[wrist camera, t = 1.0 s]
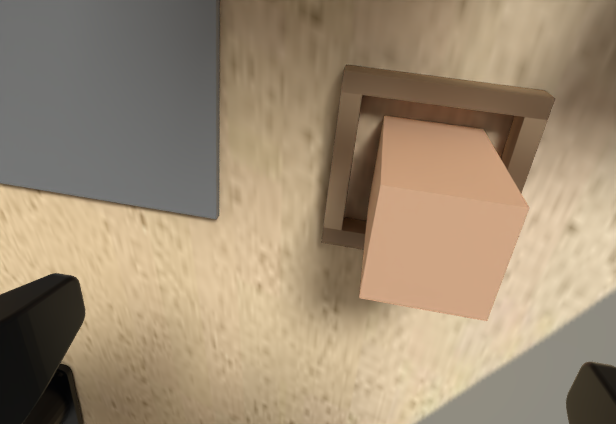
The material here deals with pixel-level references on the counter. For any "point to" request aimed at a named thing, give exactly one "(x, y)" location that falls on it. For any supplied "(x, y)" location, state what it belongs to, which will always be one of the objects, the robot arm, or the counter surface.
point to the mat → (112, 100)
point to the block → (439, 219)
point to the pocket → (437, 91)
